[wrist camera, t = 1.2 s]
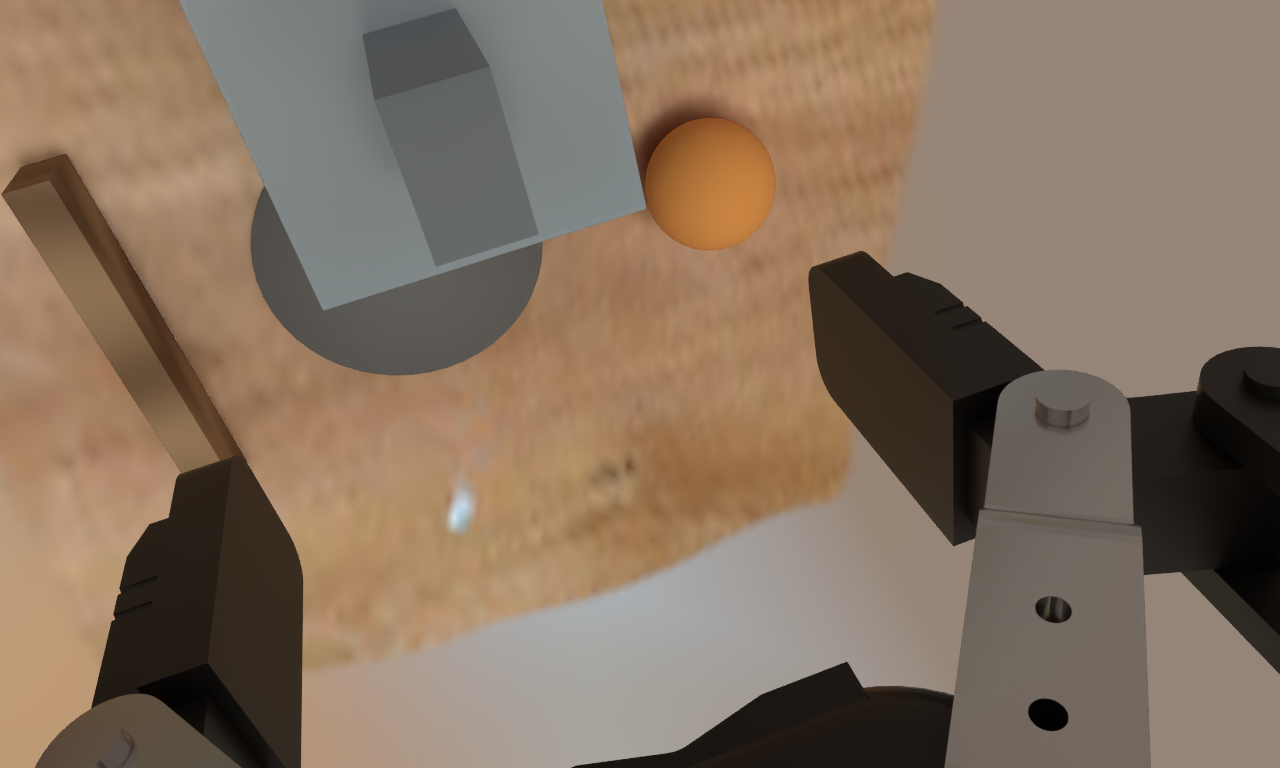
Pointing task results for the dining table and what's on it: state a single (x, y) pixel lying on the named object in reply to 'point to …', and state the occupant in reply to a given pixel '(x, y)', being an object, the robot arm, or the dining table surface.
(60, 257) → the wall
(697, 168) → the ball
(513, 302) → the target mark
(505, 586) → the dining table surface
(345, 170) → the grey block with handle
